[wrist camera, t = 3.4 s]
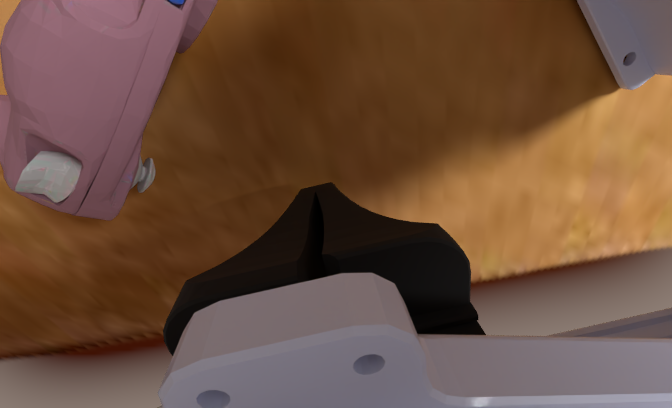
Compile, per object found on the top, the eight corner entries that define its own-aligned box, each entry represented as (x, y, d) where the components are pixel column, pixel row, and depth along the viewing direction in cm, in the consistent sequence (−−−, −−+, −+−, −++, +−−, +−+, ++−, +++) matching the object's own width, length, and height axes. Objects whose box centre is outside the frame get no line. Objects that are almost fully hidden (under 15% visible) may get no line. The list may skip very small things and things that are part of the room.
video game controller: (130, 153, 14) (134, 268, 9) (-20, 110, 11) (-120, 255, 6) (226, -73, 10) (303, -60, 6) (51, -233, 7) (-55, -453, 3)
